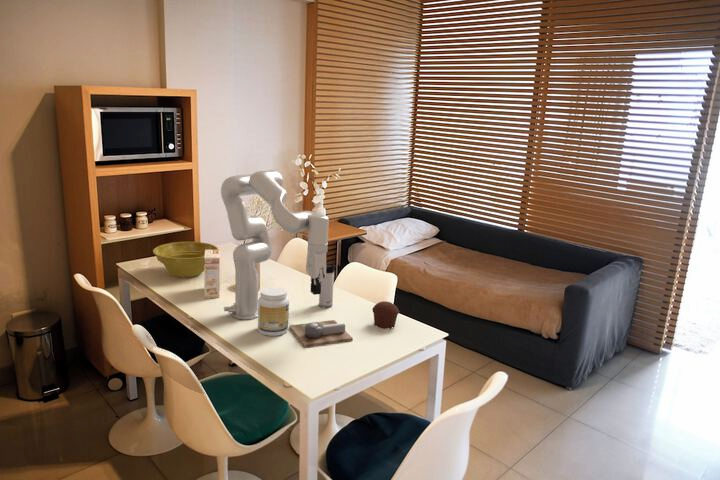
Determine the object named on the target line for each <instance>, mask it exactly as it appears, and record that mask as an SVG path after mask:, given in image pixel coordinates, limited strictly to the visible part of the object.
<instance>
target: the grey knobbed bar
mask: <svg viewBox="0 0 720 480" xmlns="http://www.w3.org/2000/svg"><path fill="white" fill-rule="evenodd" d="M308 323H309V324H307V325H305V336H306V337H308V338H312V339H316V338H320V337H322V336H323V335H326V334H333V333H341V332H345V331H346V324H345V323H344V322H341V323H338V324H331V325H323V326H322V325H321V324H318V323H314V322H308Z"/></svg>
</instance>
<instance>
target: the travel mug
mask: <svg viewBox="0 0 720 480" xmlns="http://www.w3.org/2000/svg"><path fill="white" fill-rule="evenodd" d="M335 268H336V264H334V263H326V276H325V278H323V282H322V284H321V294H318V297H319V298H318V306H319V308H323V309H330V308H332V307H333V302H334V300H333V298H334V284H335V283H334V281H335Z"/></svg>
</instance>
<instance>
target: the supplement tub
mask: <svg viewBox="0 0 720 480" xmlns="http://www.w3.org/2000/svg"><path fill="white" fill-rule="evenodd" d="M289 312H290V300H289V297H288V290H287V289H285V288H282V287H277V286H273V287H265V288H263V289H261V290H260V296H259V297H258V317H257V331H258V332H259V333H260V334H261V335H265V336H270V337H276V336H282V335H284V334H286V333H287V331H288V330H289V314H290V313H289Z"/></svg>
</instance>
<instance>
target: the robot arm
mask: <svg viewBox="0 0 720 480" xmlns="http://www.w3.org/2000/svg"><path fill="white" fill-rule="evenodd" d="M283 184H284V180H283V176H282V174H280V172H278V171H277V170H272V169H271V170H270V169H269V170H259V171H255V172H253V173H252V174H240V175H239V174H238V175H232V176H229V177H226V179H224V181H223V182H222V184H221V187H220V195H221V199H222V202H223V204H224V207H225V210H226V213H227V218H228V222H229V223H228V224H229V227H230V231H231V235H232V237H233V239H234V240H236V241H247V240H251V241H249V242H244V243H242V244H239V245H237V246H236V247H235V248H234V250H233V251H232V258H233V264H234V272H235V275H234V276H235V277H234V280H235V286H234V288H235V292H234V293H235V295H234V297H235V301H234V303H232V304H233V305H231V306H224V307H223V311H224V312H227V313H228V314H229V313H231V316H232V317H233V318H234V319H239V320H252V319H258V300H259V273H258V270H257V269H256V267H255V265H257V264H259V263H260V264H261V263H263V262H267V261H269V260H270V259H271V257H272V254H273V253H272V252H273V250H272V249H273V248H272V244H271V239H270V235H269V229H268V226H267V224H266V222H265V220H264V219H263V217H262V216H259V215H250V214H249V210H248V207H247V204H246V202H245V201H244V200H243V198H242V197H243V196H250V195H258V196H259V197H260V198H262V200H263V201H264V202H266V203H267V204H268V205H269V206H270V211H271V215H272V218H273V219H274V221H275V222H276V223H277V224H278V225H279V227H280V228H282V229H284V231H286V232H287V233H291V234H297V233H300V232H306V231H307V232H308V233H307V253H306V262H305V263H306V264H305V272H306V273H307V275H309V276H310V293H311V294H312V295H319V294H321V284H322V282H323V278H325V276H326V264H327V253H328V248H329V247H328V245H329V244H328V243H329V227H330V226H329V225H330V219H329V217H328V216H327V215H325V214H320V213H315V212H314V211H311V210H302V211H295V212H291V211H290V210H289V209H288V208H287V207H286V206H285V205H284V204H285V202H286V201H287V200H288V192H287V190H286V189H285V188H283Z"/></svg>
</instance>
